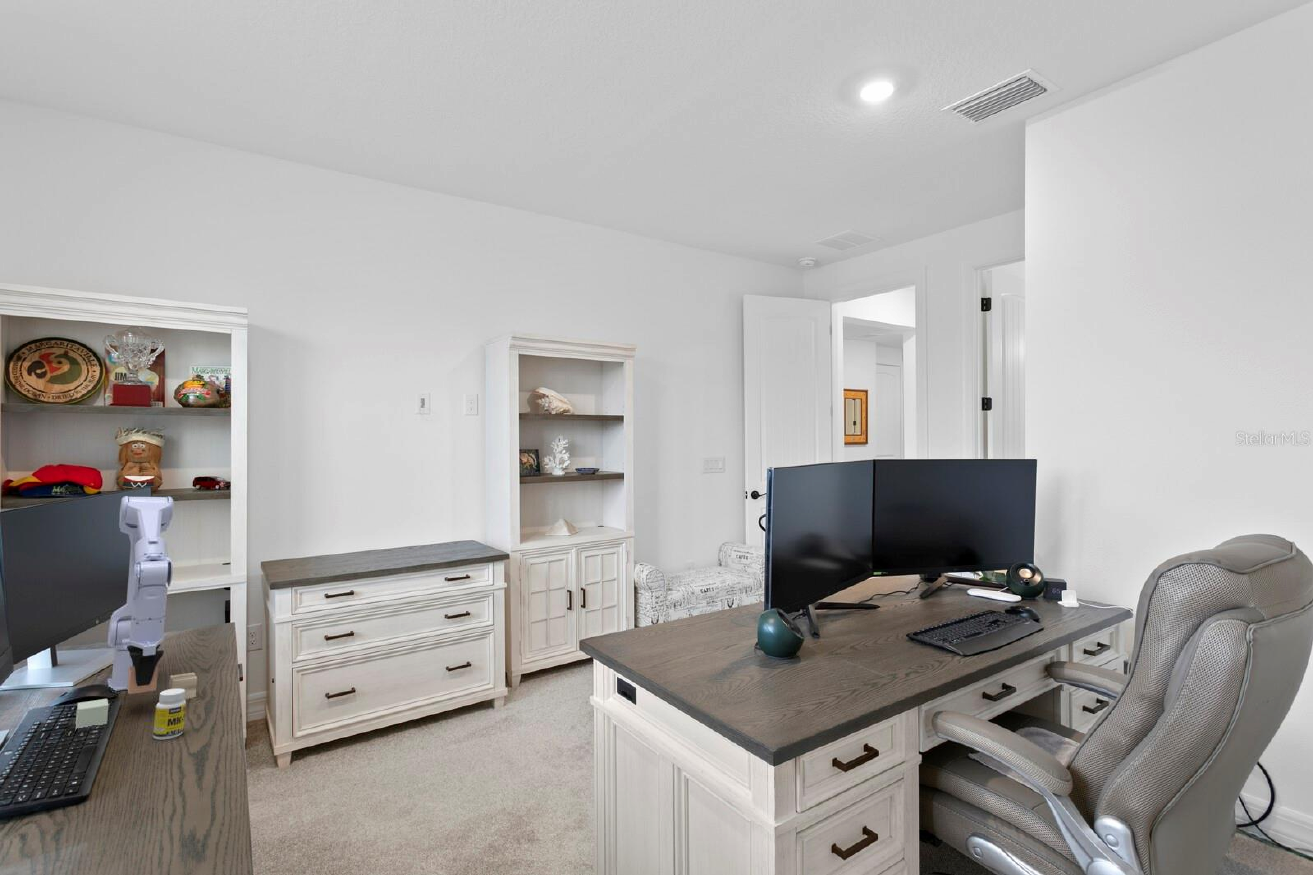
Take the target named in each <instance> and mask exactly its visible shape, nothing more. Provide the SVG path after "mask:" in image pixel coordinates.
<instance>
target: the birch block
mask: <svg viewBox="0 0 1313 875" xmlns="http://www.w3.org/2000/svg"><path fill="white" fill-rule="evenodd" d="M168 683H169V687H168V690H169V689H184V690H185V696H184V698H183V699H185V700H190V699H194V698H193V697H196V696H197V686H198V677H197V675H196V673H195V672H188V673H181V674H175V675H169V682H168ZM189 698H190V699H189Z"/></svg>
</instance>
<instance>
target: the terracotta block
mask: <svg viewBox="0 0 1313 875" xmlns="http://www.w3.org/2000/svg"><path fill="white" fill-rule="evenodd" d="M158 671H159V668H158V665H156V668H155V671H154V674H153V677H152V680H151V683H150V685H144V686H137V683H136V675H135V667H134V666H131V667H129V673H128V683H127V689H126V690H127V692H128V695H133V694H138V693H139V694H140V693H145V692H146V693H147V692H152V691H153V692H154V691H156V690H157V684H158Z"/></svg>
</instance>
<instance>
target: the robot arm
mask: <svg viewBox="0 0 1313 875" xmlns="http://www.w3.org/2000/svg"><path fill="white" fill-rule="evenodd" d="M174 507H175V506H174V499H173V498H172V497H171V496H128V495H124V496H123V497H122V498H121V500H120V507H119V522H118V523H119V524H118V527H119V531H120V532H121V533H123V534H126V535H128V538H129V541H130V552H129V563H128V564H129V567H128V577H127V578H128V582H127V591H126V592H127V594H126V603H125V604H124V605H122V606H121V607H119V608H118V609H116V610H115V611H113V612H112V615H110V619H109V620H110V622H109V625H108V626H109V627H108V631H107V632H108V635H107V644H108V646H109V647H110V648H114V652H113V653H114V654H113V664H112V674H111V678H107V684H108V685H107V686H108V688H109V687H111V688H113V689H114V690H115V691H114V692H117V691H118V692H119V691H125V690H127V683H128V673H129V667H131V666H134V667H135V675H136V683H137V686H144V685H150V683H151V680H152V677H153V674H154V671H155V668H156V666H158V664H159V661H160V660H161V658H162V657H163V655H164V653H165V651H164V650H159V649H160V647H161V643H162V642H164V641H165V636H164V631H165V630H164V628H165V620H166V611H167V610H166V609H167V600H168V599H167V598H168V588H170V586H171V583H172V581H173V580H172V579H173V574H174V573H173V569H174V568H173V562H172V559H171V557H168V556H169V555H168V546H167V545H168V542H167V540H165V539H164V538H163V537H161V533H165V532H166V531H168V530H167V529H168V528H169V527H170V523H171V522H172V521H171V520H172V518H173V515H174ZM127 617H129V618H127Z"/></svg>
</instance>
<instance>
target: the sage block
mask: <svg viewBox="0 0 1313 875" xmlns="http://www.w3.org/2000/svg"><path fill="white" fill-rule="evenodd" d="M109 705H110V704H109V700H108V698H102V699H97V700H89V701H81V702H77V705H76V706H77V707H76V714H75V724H76V727H75V730H76V729H77V728H83V727H88V726H92V725H103V724H107V723H108V716H109ZM107 725H108V724H107Z"/></svg>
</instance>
